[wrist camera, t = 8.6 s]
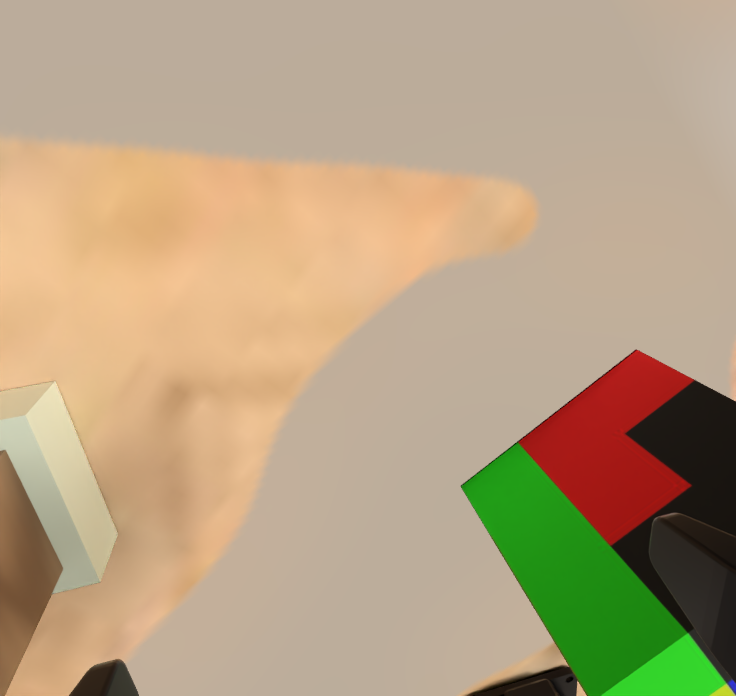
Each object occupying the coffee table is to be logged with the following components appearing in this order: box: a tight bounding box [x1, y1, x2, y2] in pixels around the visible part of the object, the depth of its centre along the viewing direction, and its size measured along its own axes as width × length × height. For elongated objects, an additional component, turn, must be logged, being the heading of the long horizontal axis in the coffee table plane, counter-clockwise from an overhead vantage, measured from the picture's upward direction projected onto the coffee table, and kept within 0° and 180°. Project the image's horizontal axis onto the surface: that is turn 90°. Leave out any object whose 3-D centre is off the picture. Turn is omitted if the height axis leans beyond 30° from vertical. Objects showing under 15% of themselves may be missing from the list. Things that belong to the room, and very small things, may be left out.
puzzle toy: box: [461, 349, 736, 696], centre depth 20 cm, size 10×10×10 cm
